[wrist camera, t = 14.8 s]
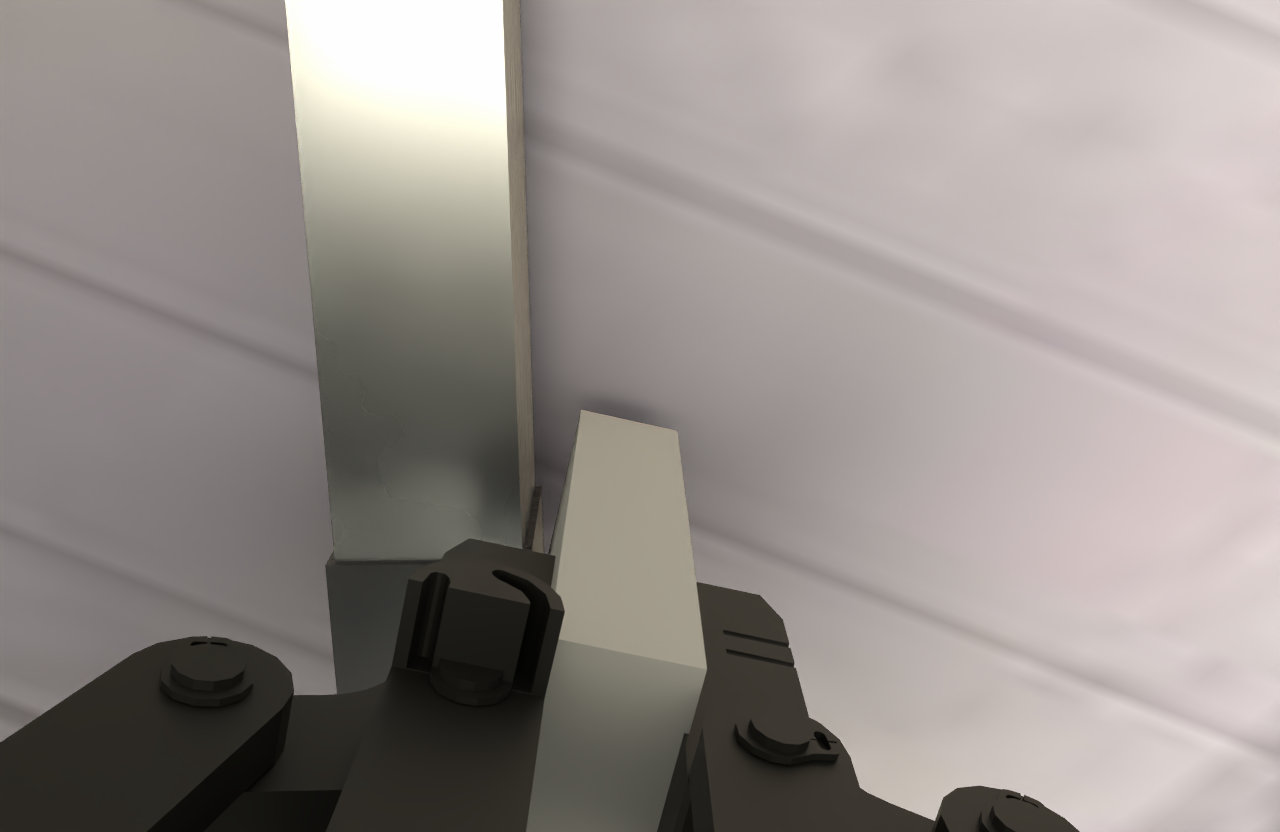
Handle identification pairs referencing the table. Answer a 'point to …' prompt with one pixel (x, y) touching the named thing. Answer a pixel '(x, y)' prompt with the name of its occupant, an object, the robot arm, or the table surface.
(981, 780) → the table surface
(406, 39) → the tong jaw
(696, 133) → the table surface
